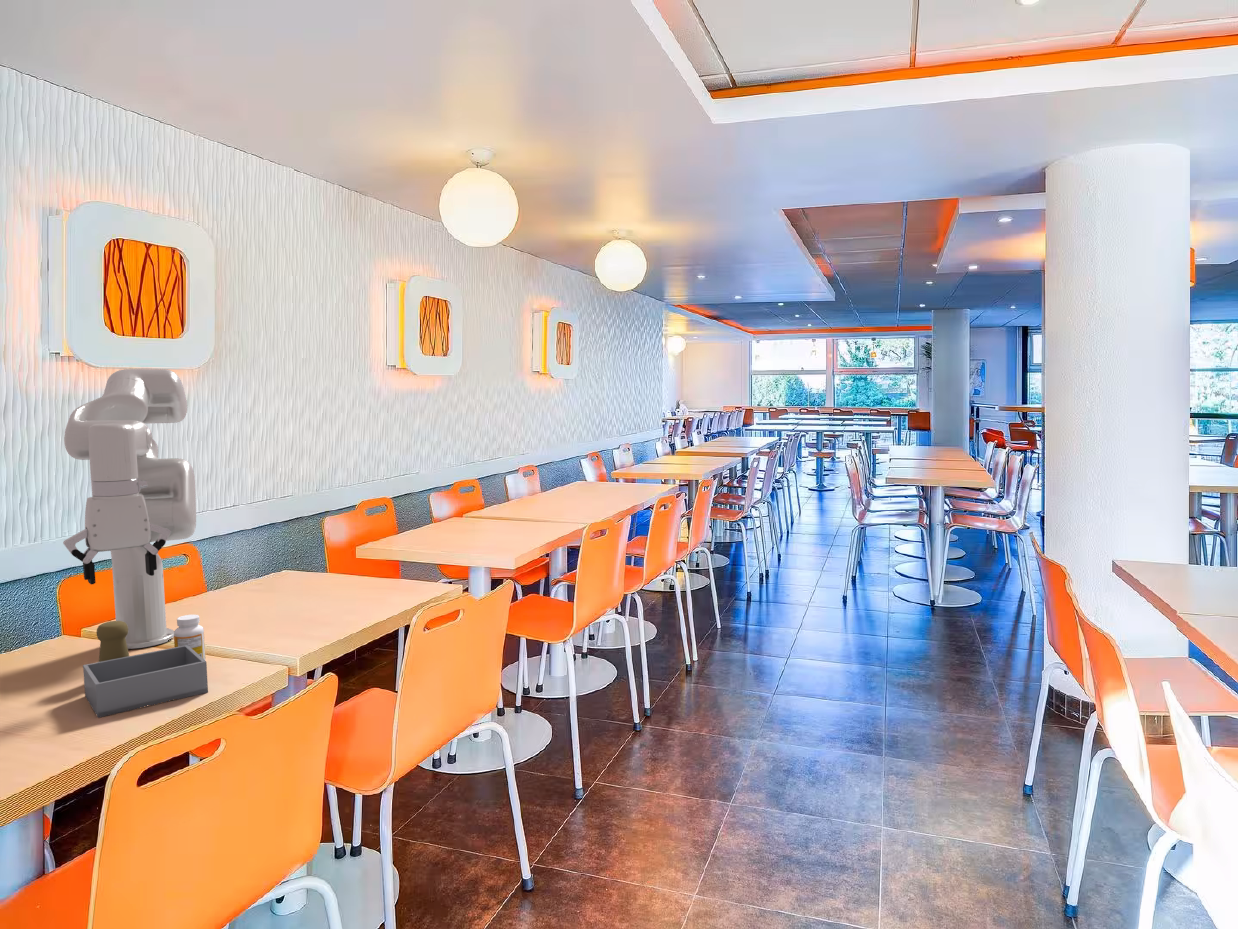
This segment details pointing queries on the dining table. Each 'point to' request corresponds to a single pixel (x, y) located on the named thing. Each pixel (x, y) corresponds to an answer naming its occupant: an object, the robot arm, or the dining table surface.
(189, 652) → the tote
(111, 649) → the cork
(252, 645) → the dining table surface
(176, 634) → the supplement bottle
